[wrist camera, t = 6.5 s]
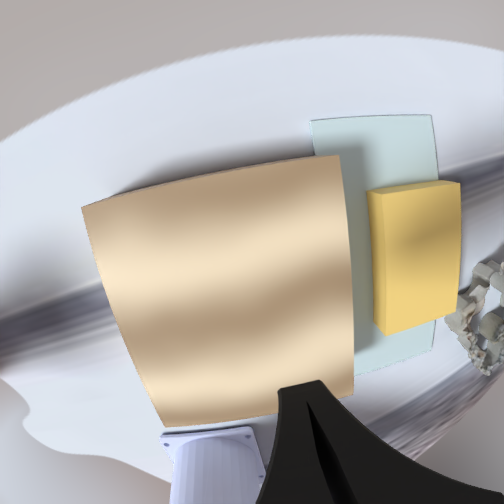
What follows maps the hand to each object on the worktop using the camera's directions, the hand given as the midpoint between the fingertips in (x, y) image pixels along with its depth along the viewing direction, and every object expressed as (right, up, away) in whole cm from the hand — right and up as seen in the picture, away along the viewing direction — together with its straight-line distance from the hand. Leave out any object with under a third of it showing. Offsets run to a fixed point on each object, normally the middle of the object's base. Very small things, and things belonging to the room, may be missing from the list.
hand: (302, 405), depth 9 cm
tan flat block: (-3, +3, +10) cm, 11 cm away
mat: (+7, +5, +10) cm, 13 cm away
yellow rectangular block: (+9, +4, +8) cm, 13 cm away
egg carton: (+19, 0, +13) cm, 23 cm away
